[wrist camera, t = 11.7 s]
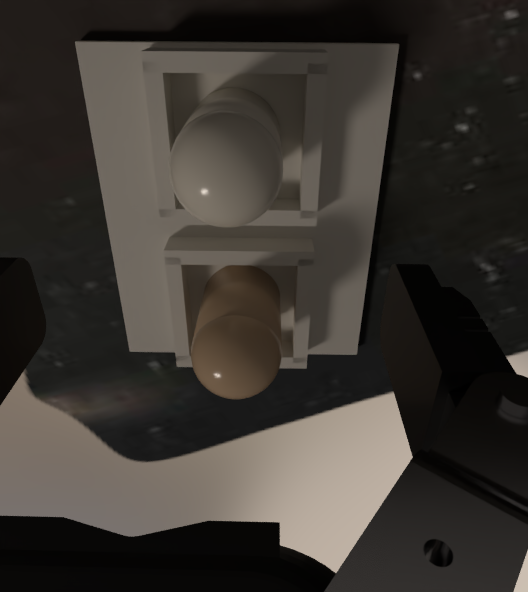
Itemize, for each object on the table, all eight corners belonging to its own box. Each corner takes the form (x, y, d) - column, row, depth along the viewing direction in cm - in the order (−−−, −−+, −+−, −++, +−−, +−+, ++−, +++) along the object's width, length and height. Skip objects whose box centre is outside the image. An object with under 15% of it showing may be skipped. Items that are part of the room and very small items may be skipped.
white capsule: (282, 88, 22) (286, 125, 16) (279, 182, 24) (283, 247, 18) (184, 87, 22) (151, 123, 16) (191, 181, 24) (164, 246, 18)
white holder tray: (396, 43, 21) (408, 47, 19) (355, 348, 30) (360, 371, 28) (79, 40, 21) (61, 44, 20) (132, 345, 30) (123, 368, 28)
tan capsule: (281, 264, 27) (284, 345, 20) (279, 329, 29) (281, 419, 23) (201, 263, 27) (180, 343, 20) (205, 328, 29) (188, 418, 23)
